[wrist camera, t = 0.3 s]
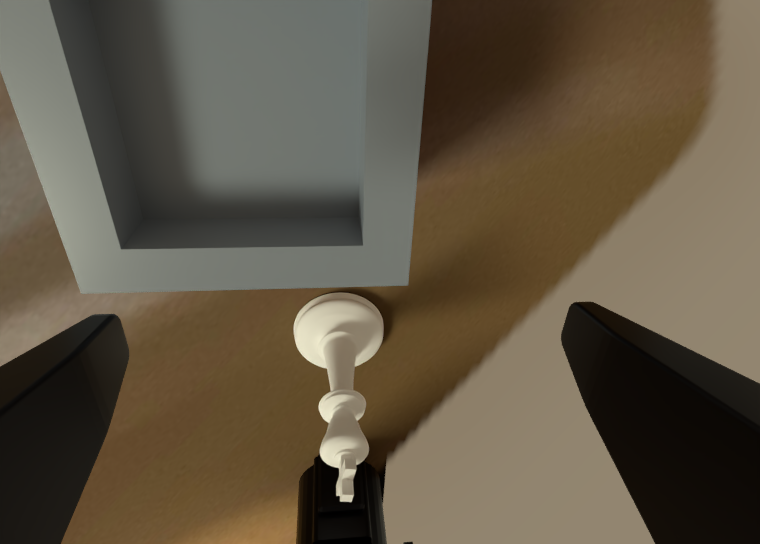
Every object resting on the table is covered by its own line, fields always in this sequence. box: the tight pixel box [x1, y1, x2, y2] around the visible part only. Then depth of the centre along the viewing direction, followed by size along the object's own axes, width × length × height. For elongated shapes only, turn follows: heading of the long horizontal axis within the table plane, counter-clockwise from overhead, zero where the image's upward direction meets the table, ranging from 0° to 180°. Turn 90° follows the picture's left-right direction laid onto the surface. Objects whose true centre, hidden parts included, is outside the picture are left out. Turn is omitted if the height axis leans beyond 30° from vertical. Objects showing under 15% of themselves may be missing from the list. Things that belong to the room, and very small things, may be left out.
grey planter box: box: [0, 0, 432, 294], centre depth 15 cm, size 10×10×8 cm
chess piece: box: [294, 292, 384, 502], centre depth 22 cm, size 5×5×10 cm
